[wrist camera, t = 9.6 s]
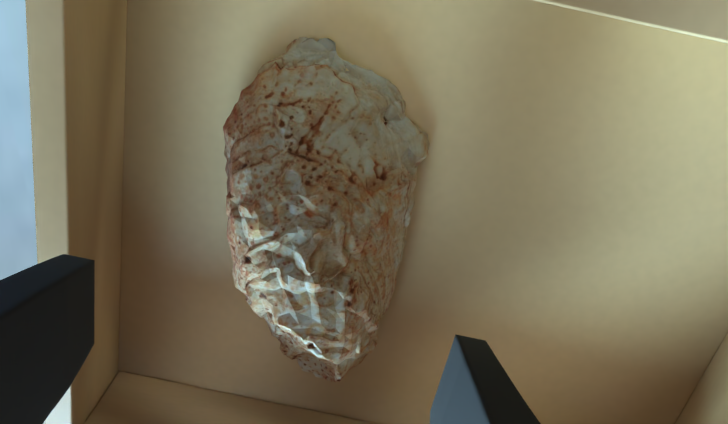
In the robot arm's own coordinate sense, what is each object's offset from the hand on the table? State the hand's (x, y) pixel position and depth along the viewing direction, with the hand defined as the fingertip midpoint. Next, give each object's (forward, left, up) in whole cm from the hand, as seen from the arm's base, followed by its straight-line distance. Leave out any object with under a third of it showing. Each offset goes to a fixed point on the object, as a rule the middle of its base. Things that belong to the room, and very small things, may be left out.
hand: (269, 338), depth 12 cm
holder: (+4, 0, -6) cm, 7 cm away
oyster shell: (0, 0, -6) cm, 6 cm away
